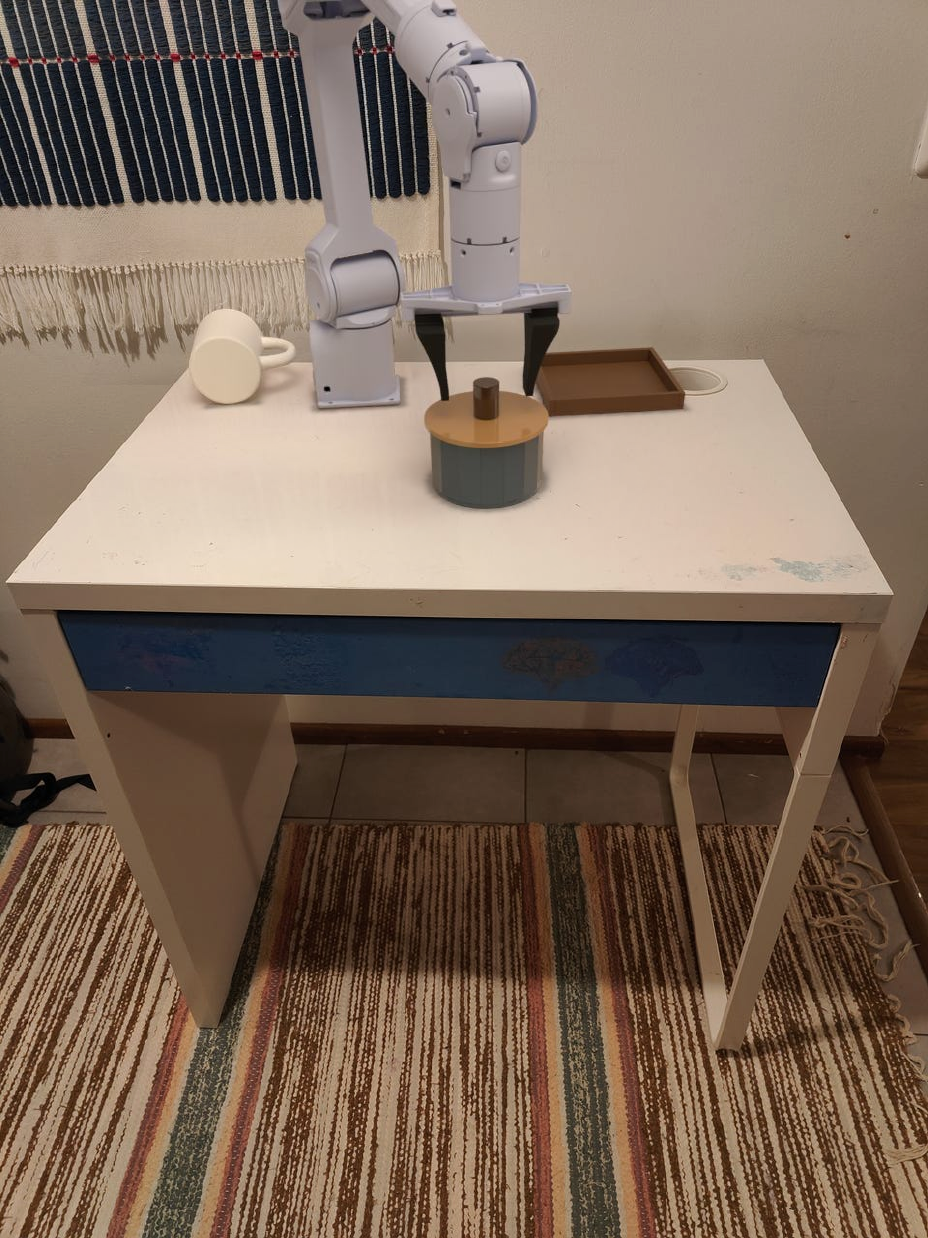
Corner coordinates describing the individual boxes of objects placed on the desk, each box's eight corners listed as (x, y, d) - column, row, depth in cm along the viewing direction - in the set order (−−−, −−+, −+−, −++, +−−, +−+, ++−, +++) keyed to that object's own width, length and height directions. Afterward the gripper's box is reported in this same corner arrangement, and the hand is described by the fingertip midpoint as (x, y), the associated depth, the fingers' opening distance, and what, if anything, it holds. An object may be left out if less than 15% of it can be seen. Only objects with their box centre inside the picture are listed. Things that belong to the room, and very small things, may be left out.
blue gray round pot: (435, 511, 80) (432, 448, 76) (430, 459, 88) (427, 399, 84) (548, 504, 80) (551, 442, 76) (532, 453, 89) (534, 394, 85)
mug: (196, 407, 100) (181, 339, 95) (203, 374, 108) (190, 310, 103) (300, 398, 101) (291, 331, 96) (300, 367, 109) (291, 303, 104)
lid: (427, 457, 76) (425, 412, 73) (422, 403, 85) (419, 361, 82) (557, 450, 76) (560, 404, 74) (538, 397, 86) (539, 355, 83)
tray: (549, 416, 96) (549, 400, 95) (530, 368, 107) (531, 353, 106) (683, 408, 96) (685, 392, 95) (651, 361, 108) (653, 346, 107)
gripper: (397, 253, 67) (408, 416, 75) (581, 245, 68) (572, 407, 76) (395, 231, 73) (406, 385, 81) (566, 223, 73) (559, 376, 82)
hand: (486, 394), depth 79 cm, fingers open, 7 cm apart
